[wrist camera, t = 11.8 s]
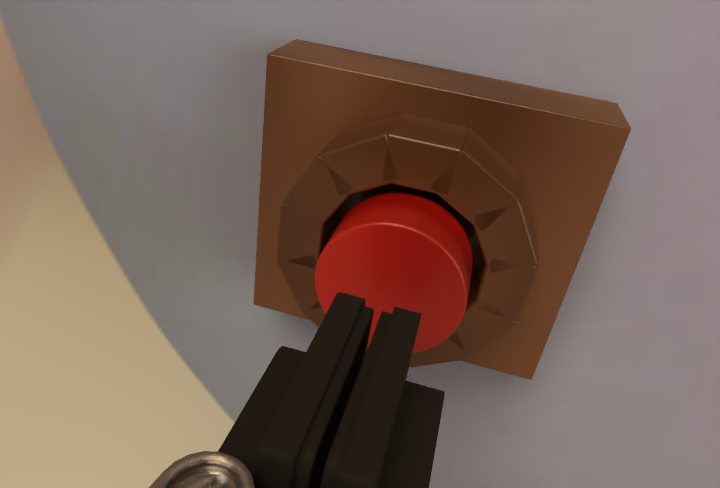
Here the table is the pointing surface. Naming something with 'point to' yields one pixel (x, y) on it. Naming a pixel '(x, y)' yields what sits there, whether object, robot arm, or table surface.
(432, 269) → the button
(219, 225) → the table surface
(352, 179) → the button block
